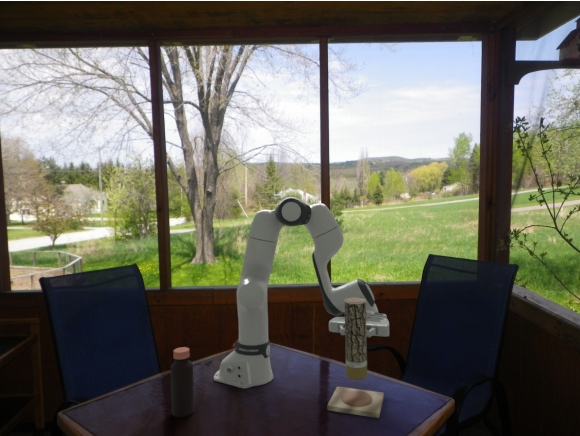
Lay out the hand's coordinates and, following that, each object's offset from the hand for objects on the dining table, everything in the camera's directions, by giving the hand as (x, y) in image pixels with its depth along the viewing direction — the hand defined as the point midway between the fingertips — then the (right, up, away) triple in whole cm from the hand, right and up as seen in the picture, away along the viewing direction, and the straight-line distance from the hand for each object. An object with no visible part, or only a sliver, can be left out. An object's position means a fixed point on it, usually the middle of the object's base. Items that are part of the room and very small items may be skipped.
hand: (355, 333), depth 128 cm
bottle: (-55, -24, -2) cm, 60 cm away
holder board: (+1, -23, +1) cm, 23 cm away
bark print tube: (+1, -14, +1) cm, 15 cm away
